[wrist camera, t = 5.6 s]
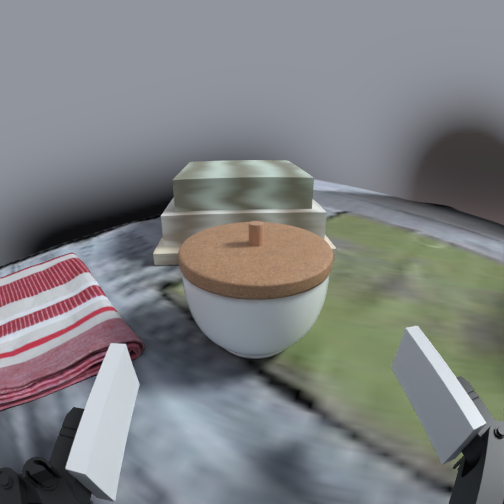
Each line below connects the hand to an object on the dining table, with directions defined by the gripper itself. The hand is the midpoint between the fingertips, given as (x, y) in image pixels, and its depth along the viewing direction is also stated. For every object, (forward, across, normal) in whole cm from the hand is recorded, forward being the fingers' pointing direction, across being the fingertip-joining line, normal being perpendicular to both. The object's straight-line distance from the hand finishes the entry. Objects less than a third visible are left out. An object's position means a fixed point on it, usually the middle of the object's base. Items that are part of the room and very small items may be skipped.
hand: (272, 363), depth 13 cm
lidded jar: (+10, 0, -6) cm, 11 cm away
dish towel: (+11, -22, -7) cm, 26 cm away
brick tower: (+35, 0, -6) cm, 35 cm away
